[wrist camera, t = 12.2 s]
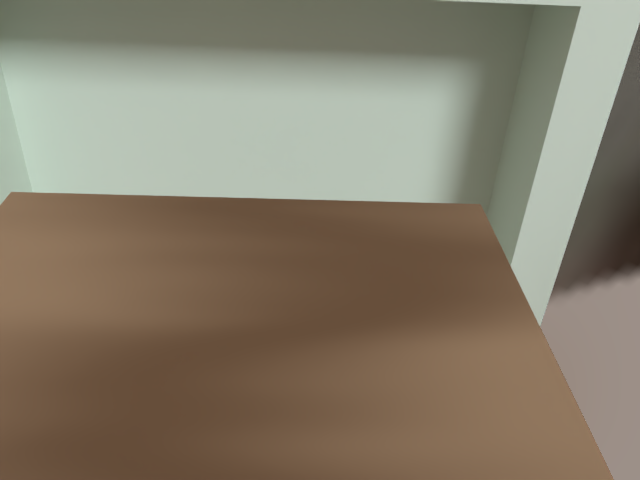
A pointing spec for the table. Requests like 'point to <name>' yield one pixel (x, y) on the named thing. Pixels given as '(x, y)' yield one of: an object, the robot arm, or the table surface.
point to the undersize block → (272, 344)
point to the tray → (320, 104)
